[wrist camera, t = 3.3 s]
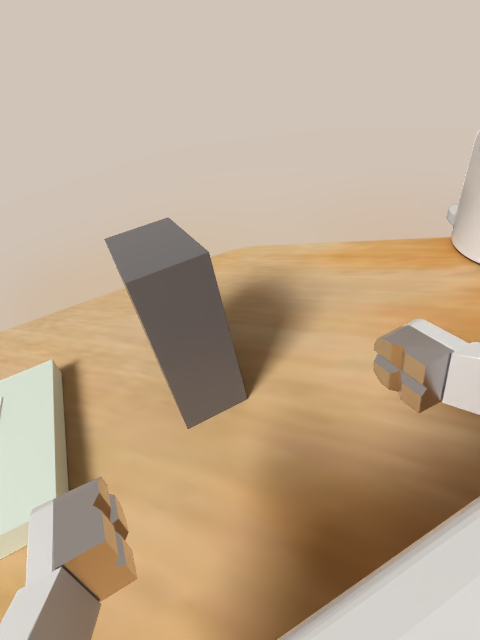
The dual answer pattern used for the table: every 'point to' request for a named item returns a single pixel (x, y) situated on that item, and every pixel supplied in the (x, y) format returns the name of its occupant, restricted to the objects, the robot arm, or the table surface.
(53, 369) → the pin board
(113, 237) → the block
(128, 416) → the table surface
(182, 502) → the table surface
